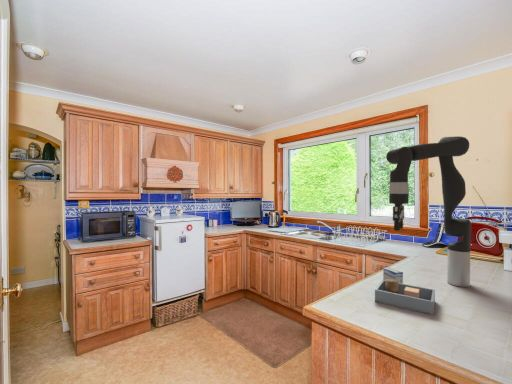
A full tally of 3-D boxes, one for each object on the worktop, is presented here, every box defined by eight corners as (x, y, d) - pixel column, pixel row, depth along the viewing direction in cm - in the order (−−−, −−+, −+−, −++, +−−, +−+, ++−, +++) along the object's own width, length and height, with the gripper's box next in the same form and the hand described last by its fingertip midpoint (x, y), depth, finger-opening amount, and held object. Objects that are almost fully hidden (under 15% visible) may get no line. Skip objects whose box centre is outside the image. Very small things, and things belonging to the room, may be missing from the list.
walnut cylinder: (399, 296, 116) (398, 280, 116) (397, 300, 112) (397, 283, 112) (386, 294, 118) (386, 278, 119) (384, 297, 114) (384, 281, 114)
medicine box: (382, 285, 131) (382, 268, 131) (389, 284, 133) (389, 267, 133) (396, 291, 124) (396, 272, 124) (403, 289, 125) (403, 271, 125)
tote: (382, 290, 124) (382, 279, 124) (434, 301, 112) (435, 289, 112) (374, 301, 112) (374, 289, 112) (433, 315, 100) (433, 302, 100)
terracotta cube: (405, 298, 114) (405, 286, 114) (419, 301, 111) (419, 289, 111) (404, 302, 110) (404, 290, 110) (418, 305, 107) (418, 292, 107)
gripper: (406, 192, 108) (406, 232, 108) (410, 192, 120) (410, 228, 120) (386, 192, 113) (386, 230, 113) (392, 192, 124) (391, 227, 124)
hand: (398, 229), depth 116 cm, fingers open, 8 cm apart
